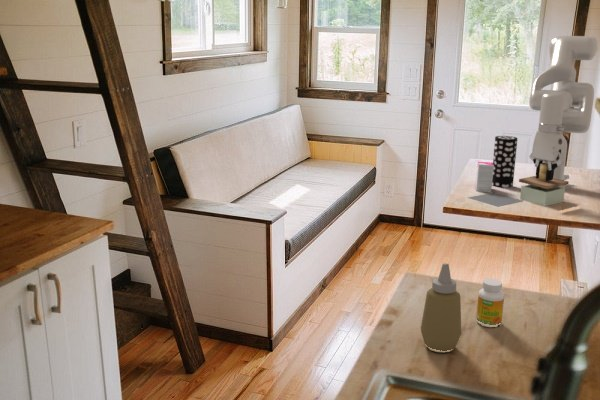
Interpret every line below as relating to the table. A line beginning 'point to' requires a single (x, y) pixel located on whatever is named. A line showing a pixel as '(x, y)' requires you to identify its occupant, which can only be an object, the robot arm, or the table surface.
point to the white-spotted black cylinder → (504, 161)
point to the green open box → (542, 195)
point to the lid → (543, 179)
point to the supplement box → (484, 176)
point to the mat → (495, 199)
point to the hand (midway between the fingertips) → (544, 178)
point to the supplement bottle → (490, 302)
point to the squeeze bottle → (442, 313)
